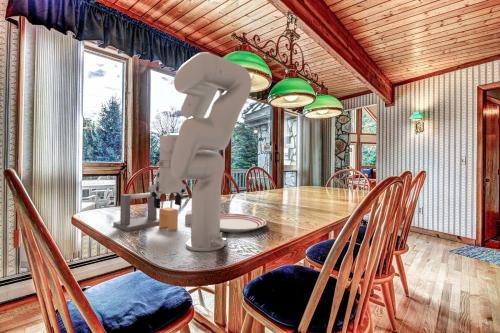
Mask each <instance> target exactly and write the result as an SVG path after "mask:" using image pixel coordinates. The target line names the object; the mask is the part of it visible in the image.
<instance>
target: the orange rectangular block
mask: <svg viewBox="0 0 500 333" xmlns="http://www.w3.org/2000/svg"><path fill="white" fill-rule="evenodd" d="M178 217H179V210H178V209H175V208H173V207H163V208H161V207H160V208H159V218H158V219H159V226H158V229H164V228H167V231H168V232H171V231H175V230H178V228H179V227H178V226H179V225H178V223H179V222H178V220H179V218H178Z"/></svg>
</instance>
